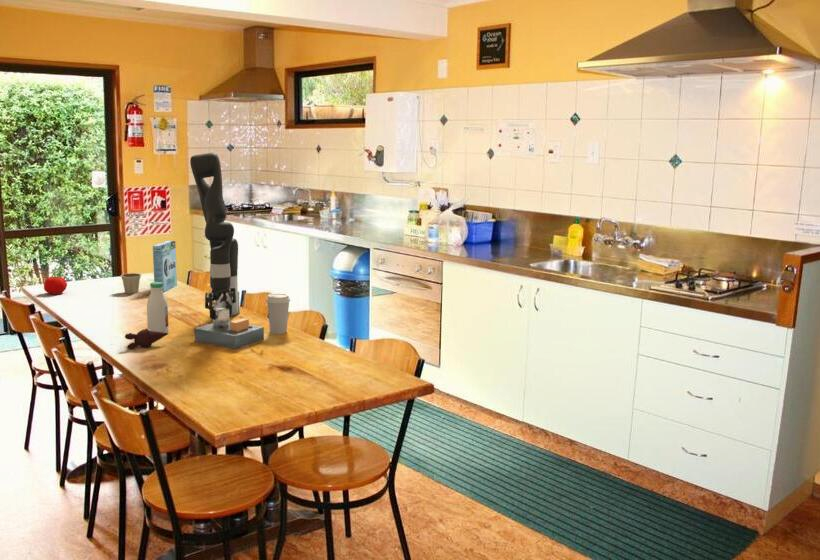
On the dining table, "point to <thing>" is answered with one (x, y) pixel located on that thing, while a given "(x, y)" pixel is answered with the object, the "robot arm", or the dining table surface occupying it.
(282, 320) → the coffee cup
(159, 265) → the gum box
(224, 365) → the dining table surface
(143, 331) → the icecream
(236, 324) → the block
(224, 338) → the jig
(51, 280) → the tomato
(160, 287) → the milk bottle
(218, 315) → the grey white cylinder
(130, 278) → the flower pot
